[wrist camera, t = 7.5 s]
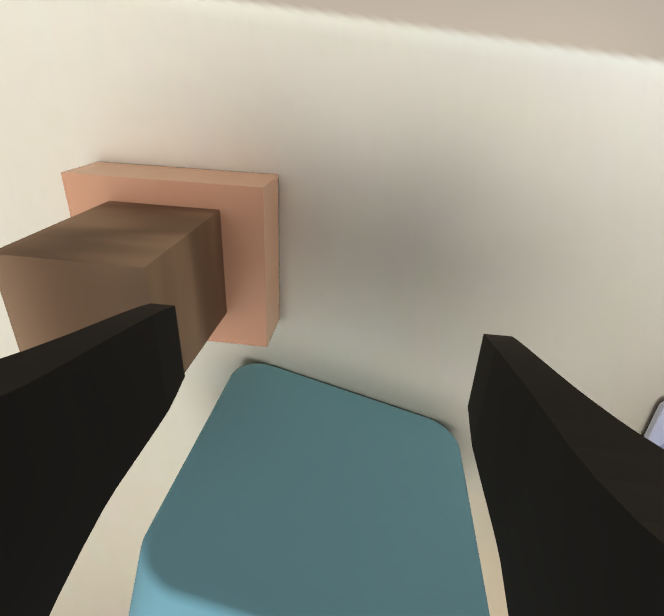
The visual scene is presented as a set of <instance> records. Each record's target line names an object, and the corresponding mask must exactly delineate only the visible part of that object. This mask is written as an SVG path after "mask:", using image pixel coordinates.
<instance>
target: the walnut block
mask: <svg viewBox="0 0 664 616" xmlns="http://www.w3.org/2000/svg"><path fill="white" fill-rule="evenodd" d="M0 291H1V295H2V298H3V301H4V304H5V307H6V310H7V313H8V316H9V319H10V323H11V326H12V329H13V332H14V335H15V338H16V341H17V344H18V347H19V350H20V352H22V351H24V350H27V349H30V348H32V347H35V346H38V345H40V344H43V343H46V342H49V341H51V340H54V339H57V338H59V337H62V336H65V335H67V334H70V333H72V332H75V331H77V330H80V329H82V328H85V327H87V326H90V325H92V324H95V323H97V322H100V321H102V320H105V319H107V318H110V317H112V316H115V315H117V314H120V313H123V312H125V311H128V310H131V309H133V308H136V307H139V306H143V305H146V304H150V303H153V304H163V305H174V306H175V308H176V316H177V323H178V330H179V338H180V345H181V352H182V359H183V367H184V373H185V372H186V370H187V369H188V367H189V366H190V364H191V363H192V362H193V360H194V359H195V357H196V356H197V355H198V353H199V352H200V350H201V349H202V347H203V346H204V345H205V343H206V342H207V340H208V339H209V337H210V336H211V335H212V333H213V332H214V330H215V329H216V327H217V326H218V325H219V323H220V322H221V320H222V319H223V318H224V316H225V315H226V313H227V306H226V292H225V277H224V262H223V248H222V233H221V219H220V210H218V209H206V208H193V207H180V206H168V205H155V204H143V203H130V202H118V201H107V202H105V203H103V204H100V205H98V206H96V207H94V208H91V209H89V210H87V211H84V212H82V213H80V214H77V215H75V216H73V217H71V218H68V219H66V220H64V221H61V222H59V223H57V224H55V225H52V226H50V227H48V228H45V229H43V230H41V231H39V232H36V233H34V234H32V235H29V236H27V237H25V238H22V239H20V240H18V241H16V242H13V243H11V244H9V245H6V246H4V247H2V248H0Z"/></svg>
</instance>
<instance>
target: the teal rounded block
mask: <svg viewBox="0 0 664 616" xmlns="http://www.w3.org/2000/svg"><path fill="white" fill-rule="evenodd" d="M129 616H490V614H489V609H488V603H487V597H486V592H485V586H484V581H483V575H482V570H481V564H480V559H479V553H478V547H477V542H476V536H475V531H474V525H473V520H472V514H471V509H470V503H469V498H468V492H467V486H466V481H465V475H464V470H463V464H462V459H461V453H460V448H459V445H458V443H457V441H456V440H455V438H454V437H453V435H452V434H451V433H450V432H449V431H448V430H447V429H446V428H445V427H443V426H442V425H440V424H439V423H437V422H436V421H434V420H431V419H429V418H426V417H423V416H420V415H417V414H414V413H411V412H408V411H405V410H402V409H399V408H396V407H393V406H390V405H387V404H384V403H381V402H378V401H376V400H373V399H370V398H367V397H364V396H361V395H358V394H355V393H352V392H349V391H346V390H343V389H340V388H337V387H334V386H331V385H328V384H325V383H322V382H319V381H316V380H313V379H310V378H307V377H304V376H301V375H298V374H295V373H292V372H289V371H286V370H283V369H280V368H277V367H274V366H271V365H267V364H260V363H254V364H248V365H244V366H242V367H240V368H238V369H237V370H236V371H235V372H234V373H233V374H232V375H231V377H230V379H229V381H228V383H227V385H226V387H225V388H224V390H223V392H222V394H221V396H220V398H219V399H218V401H217V403H216V405H215V407H214V409H213V411H212V412H211V414H210V416H209V418H208V420H207V422H206V424H205V425H204V427H203V429H202V431H201V433H200V435H199V436H198V438H197V440H196V442H195V444H194V446H193V448H192V449H191V451H190V453H189V455H188V457H187V459H186V461H185V462H184V464H183V466H182V468H181V470H180V472H179V474H178V475H177V477H176V479H175V481H174V483H173V485H172V486H171V488H170V490H169V492H168V494H167V496H166V498H165V499H164V501H163V503H162V505H161V507H160V509H159V511H158V512H157V514H156V516H155V518H154V520H153V522H152V523H151V525H150V527H149V529H148V531H147V533H146V535H145V537H144V539H143V542H142V546H141V550H140V556H139V561H138V567H137V572H136V578H135V583H134V589H133V594H132V600H131V605H130V611H129Z"/></svg>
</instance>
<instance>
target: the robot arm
mask: <svg viewBox="0 0 664 616" xmlns="http://www.w3.org/2000/svg"><path fill="white" fill-rule="evenodd" d="M184 377H185V374H184V367H183V359H182V352H181V345H180V338H179V330H178V323H177V316H176V308H175V306H174V305H163V304H153V303H150V304H146V305H143V306H139V307H136V308H133V309H131V310H128V311H125V312H123V313H120V314H117V315H115V316H112V317H110V318H107V319H105V320H102V321H100V322H97V323H95V324H92V325H90V326H87V327H85V328H82V329H80V330H77V331H75V332H72V333H70V334H67V335H65V336H62V337H59V338H57V339H54V340H51V341H49V342H46V343H43V344H40V345H38V346H35V347H32V348H30V349H27V350H24V351H22V352H19V353H16V354H13V355H10V356H7V357H4V358H1V359H0V616H49V615H50V613H51V611H52V608H53V606H54V604H55V602H56V600H57V598H58V596H59V594H60V592H61V590H62V588H63V586H64V584H65V582H66V580H67V578H68V576H69V574H70V572H71V570H72V568H73V566H74V564H75V562H76V560H77V558H78V556H79V554H80V552H81V550H82V548H83V546H84V544H85V542H86V541H87V539H88V537H89V535H90V533H91V531H92V529H93V528H94V526H95V524H96V522H97V520H98V518H99V516H100V515H101V513H102V511H103V509H104V507H105V506H106V504H107V502H108V501H109V499H110V497H111V496H112V494H113V493H114V491H115V489H116V488H117V486H118V485H119V483H120V482H121V480H122V479H123V478H124V476H125V475H126V473H127V472H128V470H129V469H130V467H131V466H132V464H133V463H134V461H135V460H136V458H137V457H138V456H139V454H140V453H141V451H142V450H143V448H144V447H145V445H146V444H147V442H148V441H149V439H150V438H151V436H152V435H153V433H154V432H155V430H156V429H157V427H158V426H159V424H160V423H161V421H162V420H163V418H164V417H165V415H166V414H167V412H168V411H169V409H170V407H171V405H172V403H173V401H174V399H175V397H176V395H177V392H178V390H179V388H180V386H181V384H182V381H183V379H184ZM468 413H469V423H470V432H471V440H472V447H473V451H474V455H475V459H476V463H477V468H478V472H479V476H480V480H481V483H482V487H483V491H484V495H485V499H486V503H487V507H488V511H489V515H490V519H491V522H492V526H493V530H494V534H495V538H496V543H497V547H498V552H499V557H500V562H501V568H502V575H503V582H504V588H505V595H506V602H507V608H508V615H509V616H664V401H663V402H661V403H660V404H659V406H658V408H657V410H656V412H655V414H654V416H653V418H652V420H651V422H650V424H649V426H648V428H647V431H646V433H645V435H644V436H642V435H640V434H639V433H637V432H636V431H634V430H633V429H631V428H630V427H628V426H627V425H625V424H624V423H622V422H621V421H619V420H618V419H617V418H615V417H614V416H612V415H611V414H610V413H608V412H607V411H606V410H604V409H603V408H601V407H600V406H599V405H597V404H596V403H595V402H593V401H592V400H591V399H589V398H588V397H587V396H585V395H584V394H583V393H581V392H580V391H579V390H578V389H576V388H575V387H574V386H573V385H571V384H570V383H569V382H568V381H566V380H565V379H564V378H563V377H561V376H560V375H559V374H558V373H557V372H555V371H554V370H553V369H552V368H551V367H549V366H548V365H547V364H546V363H545V362H543V361H542V360H541V359H540V358H539V357H537V356H536V355H535V354H534V353H533V352H531V351H530V350H529V349H528V348H527V347H525V346H524V345H523V344H522V343H520V342H519V341H518V340H516V339H515V338H513V337H511V336H500V335H489V334H484V335H483V340H482V344H481V349H480V354H479V358H478V363H477V367H476V372H475V376H474V381H473V386H472V390H471V395H470V399H469V404H468Z"/></svg>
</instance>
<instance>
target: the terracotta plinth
mask: <svg viewBox="0 0 664 616" xmlns="http://www.w3.org/2000/svg"><path fill="white" fill-rule="evenodd" d="M61 175H62V180H63V184H64V189H65V193H66V198H67V202H68V206H69V211H70V215H71V217H73V216H75V215H77V214H80V213H82V212H84V211H87V210H89V209H91V208H94V207H96V206H98V205H100V204H103V203H105V202H107V201H118V202H130V203H143V204H155V205H168V206H180V207H193V208H206V209H218V210H220V219H221V233H222V248H223V262H224V277H225V292H226V306H227V313H226V315H225V316H224V318H223V319H222V320H221V322H220V323H219V325H218V326H217V327H216V329H215V330H214V332H213V333H212V335H211V336H210V337H209V339H208V340H207V341H216V342H226V343H235V344H245V345H254V346H264V347H267V346H268V343H269V341H270V339H271V337H272V335H273V333H274V331H275V328H276V326H277V324H278V322H279V210H278V175H276V174H262V173H248V172H234V171H220V170H206V169H193V168H179V167H165V166H151V165H137V164H123V163H109V162H95V163H92V164H88V165H85V166H81V167H78V168H75V169H71V170H68V171H64V172H61Z"/></svg>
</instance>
